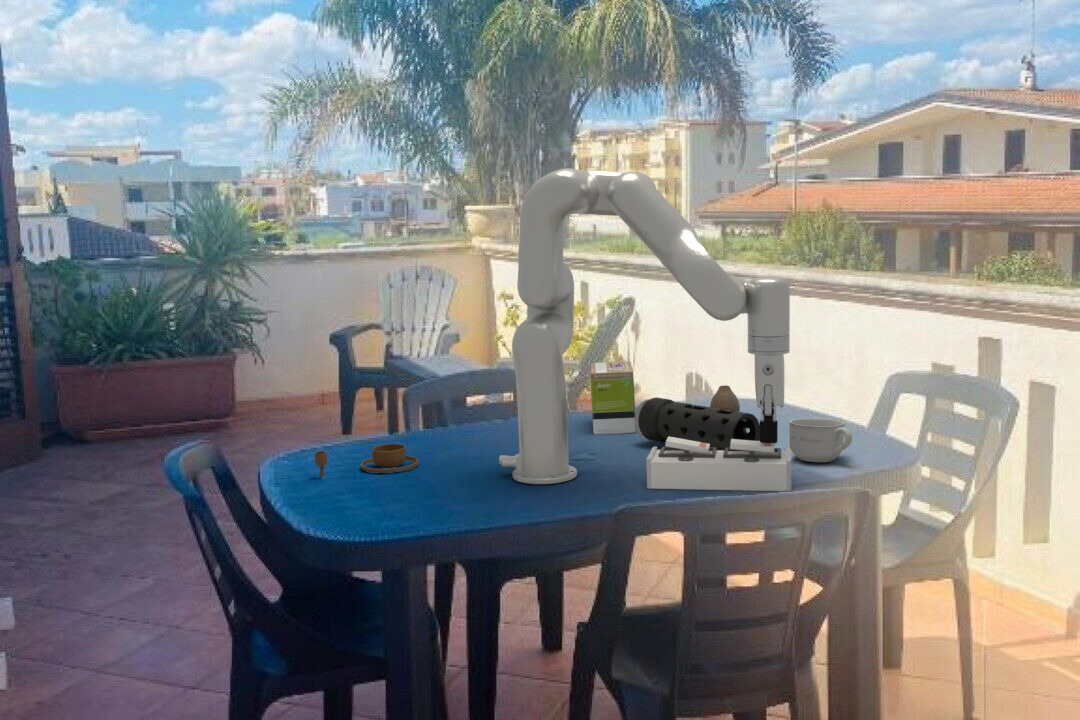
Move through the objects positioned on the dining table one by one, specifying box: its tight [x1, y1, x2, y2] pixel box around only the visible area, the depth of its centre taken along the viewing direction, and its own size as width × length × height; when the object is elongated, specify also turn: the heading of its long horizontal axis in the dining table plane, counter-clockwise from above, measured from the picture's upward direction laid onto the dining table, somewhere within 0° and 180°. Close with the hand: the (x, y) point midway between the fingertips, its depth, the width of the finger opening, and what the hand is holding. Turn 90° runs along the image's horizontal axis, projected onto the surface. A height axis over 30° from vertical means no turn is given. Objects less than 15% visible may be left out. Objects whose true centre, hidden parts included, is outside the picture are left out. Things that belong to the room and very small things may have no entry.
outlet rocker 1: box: [664, 436, 710, 454], centre depth 204 cm, size 8×4×2 cm, turn 77°
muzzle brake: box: [634, 397, 760, 451], centre depth 227 cm, size 10×28×10 cm, turn 39°
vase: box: [709, 385, 741, 412], centre depth 254 cm, size 7×7×9 cm
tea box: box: [590, 360, 637, 435], centre depth 254 cm, size 15×10×15 cm
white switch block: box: [645, 446, 792, 492], centre depth 201 cm, size 26×10×6 cm, turn 77°
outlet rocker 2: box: [730, 439, 776, 454], centre depth 201 cm, size 8×4×2 cm, turn 77°
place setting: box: [314, 443, 419, 477], centre depth 224 cm, size 18×20×6 cm
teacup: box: [788, 417, 853, 463], centre depth 214 cm, size 14×11×8 cm
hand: (768, 441), depth 201 cm, fingers closed
